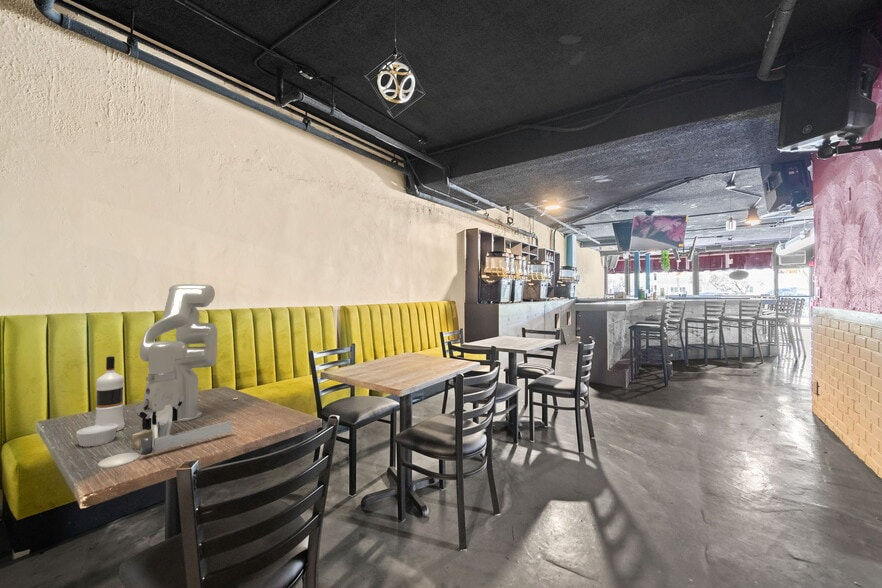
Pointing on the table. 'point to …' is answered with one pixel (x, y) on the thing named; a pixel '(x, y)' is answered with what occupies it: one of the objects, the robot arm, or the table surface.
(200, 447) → the table surface
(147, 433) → the block
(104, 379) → the vodka
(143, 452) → the bar
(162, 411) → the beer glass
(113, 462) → the white disc
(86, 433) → the ramekin
